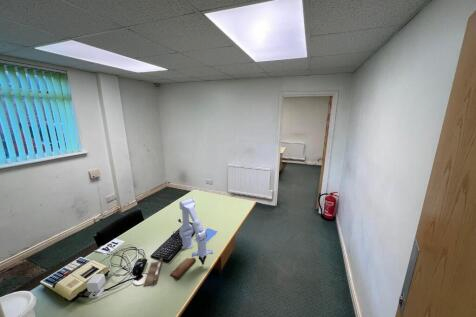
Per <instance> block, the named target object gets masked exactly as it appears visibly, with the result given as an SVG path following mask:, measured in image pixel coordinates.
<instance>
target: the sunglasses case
mask: <svg viewBox="0 0 476 317" xmlns="http://www.w3.org/2000/svg"><path fill="white" fill-rule="evenodd" d="M195 262H196V258H195V257H190V258H185V259H184V260H182V262H180V264H179V265H178V266H177V267H175V269H174V270H173V271H172V272H171V273H170V274H169V277H171V278H174V280H177V281H179V280H180V279H181V278H182V277H183V275H184V274H186V272H187V271H188V270H189V269H190V268H191V266H193V264H194V263H195Z"/></svg>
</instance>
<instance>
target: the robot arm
mask: <svg viewBox="0 0 476 317" xmlns="http://www.w3.org/2000/svg"><path fill="white" fill-rule="evenodd" d="M195 208H196V201H195V199H194V198H193V197H191V198H187V199H186V200H181V201H179V209H180V210H181V212H182V213H181V215H182V225H181V226H180V227H179V231H178V232H179V237H180V238H181V239H182V240H181V241H182V242H181V243H182V245H183V246H181V249H182V250H184V249H192V248H193V242H194V239H193V238H192V235H193V234H194V233H195V238H196V241H197V242H196V241H195V242H196V244H197V251H194V252H191V258H194V257H198V260H199V261H200V263H201V265H202V266H203V265H205V261H206V259H207V256H208V255H213V254H214V250H213V249H207V244H206V238H207V232H206V229H205V228H204V227H203V225H202V223H201V222H202V221H201V220H200V219H198V217H197V213H196V209H195ZM190 218H191V221H192V223H190Z"/></svg>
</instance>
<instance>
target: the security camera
mask: <svg viewBox="0 0 476 317" xmlns="http://www.w3.org/2000/svg"><path fill="white" fill-rule="evenodd" d="M106 282H107V281H106V276H105V274H104V273H94V274H93V275H92V276H91V277H90V279H88V281H87V282H86V284H85V285H86V289H87V291H88V292H89V293H90V294H89V295H88V298H89V299H99V298H100V297H101V295H102V294H103V292H104V291H105V290H106V289H105V287H103V286H104V285H105V283H106ZM94 293H95V296H93V294H94Z"/></svg>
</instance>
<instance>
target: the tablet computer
mask: <svg viewBox="0 0 476 317" xmlns="http://www.w3.org/2000/svg"><path fill="white" fill-rule="evenodd" d="M205 230H206V232H207V238H206V245H207V244H208V243H209V242H210V241H211V240H212V239H213V238H214V237H216V236H217V234H219V231H217V230H214V229H212V228H209V227H207V228H206V229H205ZM193 242H195V243H197V241H196V237H195V238H194V239H193Z"/></svg>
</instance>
